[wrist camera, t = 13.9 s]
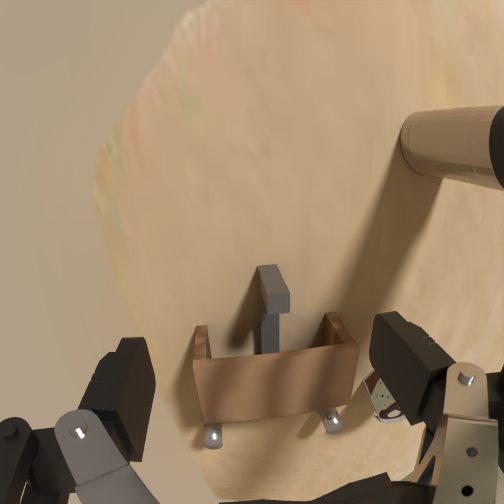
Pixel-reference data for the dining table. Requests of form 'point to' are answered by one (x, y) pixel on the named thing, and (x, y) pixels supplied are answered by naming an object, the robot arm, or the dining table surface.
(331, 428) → the goal posts
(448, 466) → the robot arm
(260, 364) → the low shelf
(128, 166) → the dining table surface
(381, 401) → the food container
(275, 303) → the scraper
